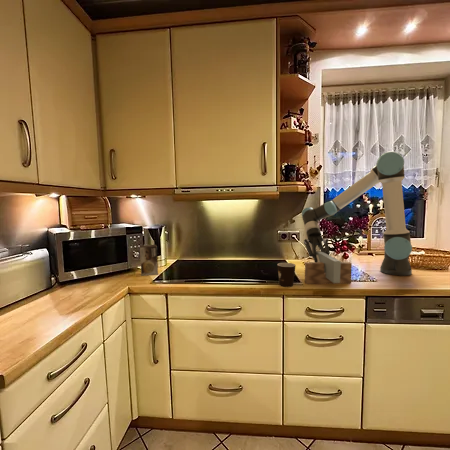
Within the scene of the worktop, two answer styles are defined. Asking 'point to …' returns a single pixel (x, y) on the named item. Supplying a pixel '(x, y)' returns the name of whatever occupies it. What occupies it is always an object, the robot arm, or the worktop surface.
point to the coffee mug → (286, 274)
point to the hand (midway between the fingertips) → (323, 267)
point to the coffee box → (148, 260)
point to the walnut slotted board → (317, 275)
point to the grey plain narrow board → (330, 266)
